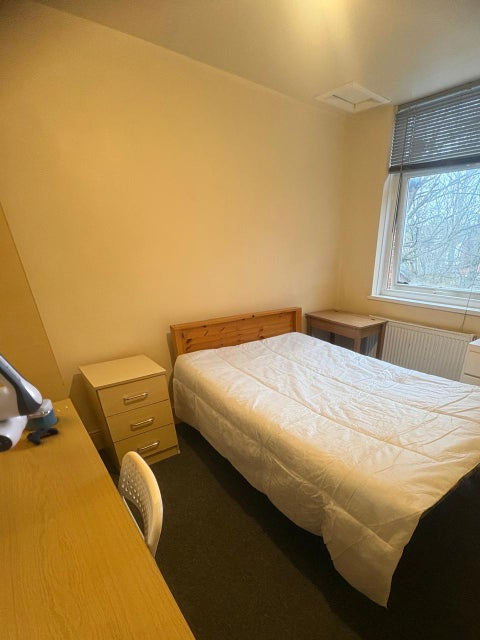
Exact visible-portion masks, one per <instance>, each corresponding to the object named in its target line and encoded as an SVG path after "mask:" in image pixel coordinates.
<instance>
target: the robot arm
mask: <svg viewBox="0 0 480 640" xmlns="http://www.w3.org/2000/svg"><path fill="white" fill-rule="evenodd" d="M0 383H1V384H2V385H3V386H0V453H5V452H7V451H10V450H11V449H13V448H14V447H15V446H16V445H17V444H18V442H19V441H20V439H21V438H22V435H23V431H24V430H25V426H26V424H27V422H28V419H30V418H37V417H43V416H46V415H48V414H49V413H50V411H51V410H52V408H54V406H53V403H52V400H51V399H48V398H44V399H43V396H42V394H41V392H40V391H39V389H38V388H37V387H36V386H35V385H34V384H32V382H30V381H29V380H28V379H26V378H25V377H24V376H23V375H22V374H21V372H19V371H18V370H17V369H16V367H15V366H13V364H11V362H10V361H9V360H8V359H7V358H6V357H5V356H4V355H3V354H2V353H1V352H0Z"/></svg>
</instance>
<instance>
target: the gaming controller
mask: <svg viewBox="0 0 480 640" xmlns="http://www.w3.org/2000/svg"><path fill="white" fill-rule="evenodd" d="M59 432H60V431H59V429H58V428H57V427H52V426H49V427H43V428H38V429H37V430H33V431H32V432H29V433H27V435H26V440H27V441H29V442H30V443H32V444H33V445H36V446H39V445H41V444H42V441H41V438H40V437H42V436H44V435H45V434H50V435H57V434H59Z"/></svg>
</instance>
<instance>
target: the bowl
mask: <svg viewBox="0 0 480 640" xmlns="http://www.w3.org/2000/svg"><path fill="white" fill-rule="evenodd" d="M57 422H58V417H57V414H56V411H55V409H54V407H53V408H52V410H51V411H50V413H49V414H48V415H46V416H43V417H37V418H30V419H28V422H27V424H26V426H25V428H24V430H28V431H35V430H37V429H38V428H43V427H52V426H53V425H55V424H56V423H57Z"/></svg>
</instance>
